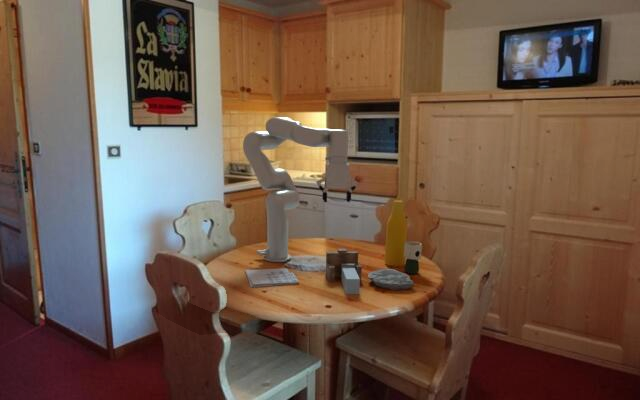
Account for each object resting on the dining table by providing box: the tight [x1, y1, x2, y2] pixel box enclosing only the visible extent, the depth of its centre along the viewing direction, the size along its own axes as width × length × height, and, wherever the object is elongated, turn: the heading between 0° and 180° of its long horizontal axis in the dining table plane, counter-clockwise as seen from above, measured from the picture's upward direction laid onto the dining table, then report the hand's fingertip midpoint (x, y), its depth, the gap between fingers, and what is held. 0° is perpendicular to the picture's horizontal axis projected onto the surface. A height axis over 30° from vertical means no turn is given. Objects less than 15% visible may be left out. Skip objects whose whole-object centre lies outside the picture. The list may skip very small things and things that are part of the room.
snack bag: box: [244, 267, 300, 288], centre depth 191 cm, size 19×20×2 cm
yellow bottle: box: [384, 199, 408, 268], centre depth 212 cm, size 9×9×29 cm
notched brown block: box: [325, 248, 363, 283], centre depth 192 cm, size 13×9×11 cm, turn 100°
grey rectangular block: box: [340, 264, 361, 295], centre depth 183 cm, size 5×16×7 cm, turn 4°
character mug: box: [403, 241, 423, 275], centre depth 201 cm, size 11×7×13 cm, turn 145°
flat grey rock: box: [367, 268, 415, 291], centre depth 188 cm, size 20×17×3 cm
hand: (336, 201), depth 195 cm, fingers open, 9 cm apart
